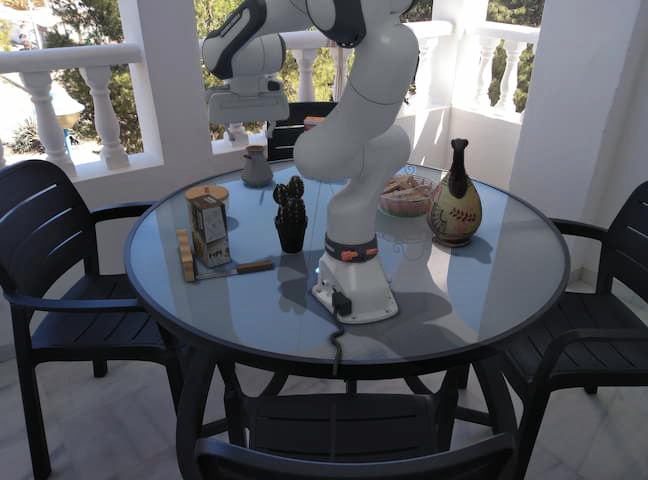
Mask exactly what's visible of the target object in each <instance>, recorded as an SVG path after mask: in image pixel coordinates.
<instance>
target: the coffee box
mask: <svg viewBox="0 0 648 480" xmlns="http://www.w3.org/2000/svg"><path fill="white" fill-rule="evenodd" d="M187 205H188V208H187V211H188V217H189V225H190V231H191V238H192V239H191V240H192V246H193V253H194V256H195V257H196V258H197V259H198V260H199V261H200V262H202V263H203V264H204V265H205V266H206V267H208V268H214V267H217V266H221V265H223V264H226V263H230V262H231V253H230V252H231V251H230V241H229V232H228V223H227V215H226V210H225V204H224V203H223V202H221V201H219V200H218V199H216V198H215V197H213V196H211V195H210V194H206V195H202V196H198V197H195V198H191V199H187V203H186V206H187Z"/></svg>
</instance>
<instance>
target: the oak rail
mask: <svg viewBox="0 0 648 480" xmlns="http://www.w3.org/2000/svg"><path fill="white" fill-rule="evenodd" d="M176 234H177V240H178V245H179V246H178V247H179V251H180V255H181V256H180V257H181V262H182V266H183V272H184V277H185V282H193V281H195V280H196V278H195V273H194V264H193V263H194V260H193V259H194V258H193V255H192V250H191V246H190V241H189V237H188V232H187V229H186V228H182V229H176Z"/></svg>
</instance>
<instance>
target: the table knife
mask: <svg viewBox="0 0 648 480" xmlns="http://www.w3.org/2000/svg"><path fill="white" fill-rule="evenodd" d="M273 263H274V262H273V261H272V259H266V260H258V261H252V262H246V263H239V264H235V269H229V270H223V271H217V272H215V271H214V272H209V273H202V274H198V275H196V276H195V280H198V281H201V280H208V279H214V278H221V277H228V276H234V275H241V274H247V273H255V272H260V271H268V270H274V264H273Z"/></svg>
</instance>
